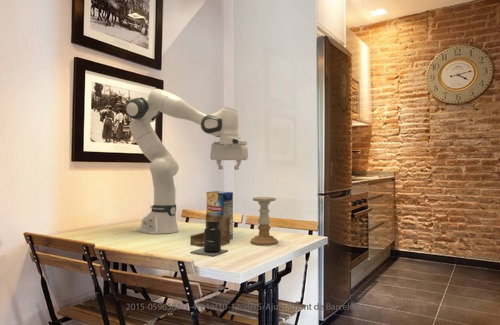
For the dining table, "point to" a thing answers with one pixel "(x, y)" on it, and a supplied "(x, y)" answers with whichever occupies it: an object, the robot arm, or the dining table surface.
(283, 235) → the dining table surface
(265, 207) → the candle holder
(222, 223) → the walnut cubby
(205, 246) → the supplement bottle
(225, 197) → the beverage box
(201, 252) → the slate mat
